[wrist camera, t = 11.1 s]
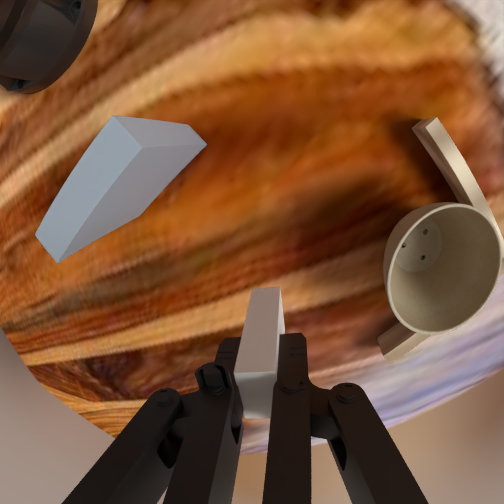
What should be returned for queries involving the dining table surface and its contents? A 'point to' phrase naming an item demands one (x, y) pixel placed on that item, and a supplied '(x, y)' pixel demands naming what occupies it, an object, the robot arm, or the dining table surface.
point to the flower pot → (441, 266)
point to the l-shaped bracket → (466, 192)
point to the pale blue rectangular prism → (116, 181)
